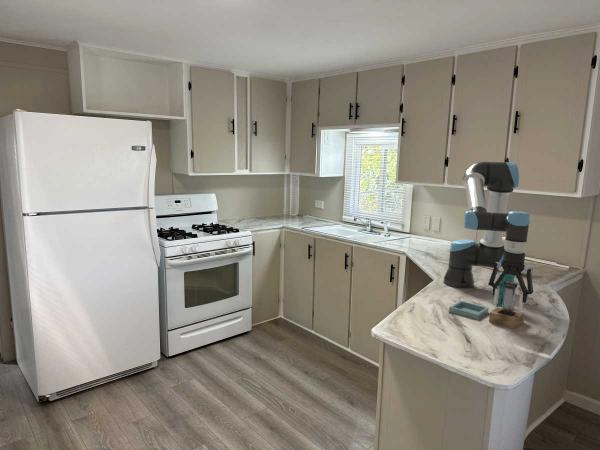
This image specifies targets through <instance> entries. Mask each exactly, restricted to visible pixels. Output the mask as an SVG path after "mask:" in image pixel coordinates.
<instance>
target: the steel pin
mask: <svg viewBox="0 0 600 450" xmlns="http://www.w3.org/2000/svg"><path fill="white" fill-rule="evenodd" d="M518 284H519V283H517V282H515V281H514V282H511V281H505V282H504V286H505V288H504V297H503V305H502V314H506V315H510V316H513V310H514V306H515V299H516V291H517V288H518Z"/></svg>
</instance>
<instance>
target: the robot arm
mask: <svg viewBox="0 0 600 450" xmlns="http://www.w3.org/2000/svg"><path fill="white" fill-rule="evenodd" d="M519 184H520V173H519V168H518V165H517V164H516V163H515V162H508V161H479V162H476V163H474V164H472V165H470V167H468V168H467V169H466V171H464V173H463V177H462V185H463V187H464V188H465V192H466V193H465V194H466V195H465V196H466V203H467V211H465V212H464V214H463V228H464V229H467V230H473V231H475V230H476V231H484V232H483V237H482V238H481V239H479V243H476V242H475V239H474V240H473V239H467V238H463V239H456V240H454V241H451V243H450V247H449V255H448V256H449V257H448V265H447V266H448V267H447V270H446V272H445V274H444V277H443V281H442V282H443V284H444V285H447V286H449V285H450V287H453V286H454V287H453V288H459V287H461V289H468V288H469V287H471V288H473V287H474V286H475V279H474V274H473V267H480V266H481V268H485V267H491V268H494V269H492V273H491V275H490V276H489V277H490V278H489V281H488V283H487V285H488V286H489V287H492V293H491V295H492V296H493V297H494V298H493V305H495V306H497V305H496V304H497V303H498V297H499V288H497V287H498V285H499V284H500V282H501V281H502V280H503V278H504V277H505V276H506V274H512V275H514V276H515V278H516V279H517V281H518V284H519V287H520V289H521V293H520V296H519V305H518V311H519V312H522V311H523V308H524V304H526V303H527V302H528V295H530V296H531V295H533V294H534V286H533V285H534V284H533V277H532V273H533V271H534V270H533V268H532V267H526V265H525V261H526V260H525V258H526V253H525V252H526V251H527V241H528V235H529V234H528V233H529V226H530V223H531V222H530V217H531V216H530V213H528V212H526V211H519V210H518V211H517V210H512V211H509V212H507V209H508V203H509V196H510V195H511V194H512V193H514V189H516V188H518V187H519ZM484 187H486V190H487V191H488V192H489V197H488V203H487V202H486V200H487V199H486V195H485V194H486V193H485V188H484ZM504 233H505V243H504V242H503V241H502V237H504V236H503V235H504ZM500 267H502V268H503V269H504V271H503V272H502V271H501V272H502V274H501V275H500V277H499V276H498V278H497V274H498V272H499V270H498V269H499V268H500ZM523 271H524V272H525V275H526V276H525V277H526V282H525V280H524V277H523V273H522V272H523ZM496 278H497V279H496ZM526 284H527V285H526Z"/></svg>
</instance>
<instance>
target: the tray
mask: <svg viewBox="0 0 600 450" xmlns="http://www.w3.org/2000/svg"><path fill="white" fill-rule="evenodd" d="M489 311H490V310H489V307H487V306H483V305H481V304H476V303H471V302H468V301H464V300H459V301H457V302H456V303H454V304H452V305H451V306H449V309H448V314H452V313H453V314H454V315H455V314H456V315H460V316H462V317H466V318H471V319H474V320H480V319H481V318H482V317H483V316H485V315H487V314H488V313H489Z"/></svg>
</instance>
